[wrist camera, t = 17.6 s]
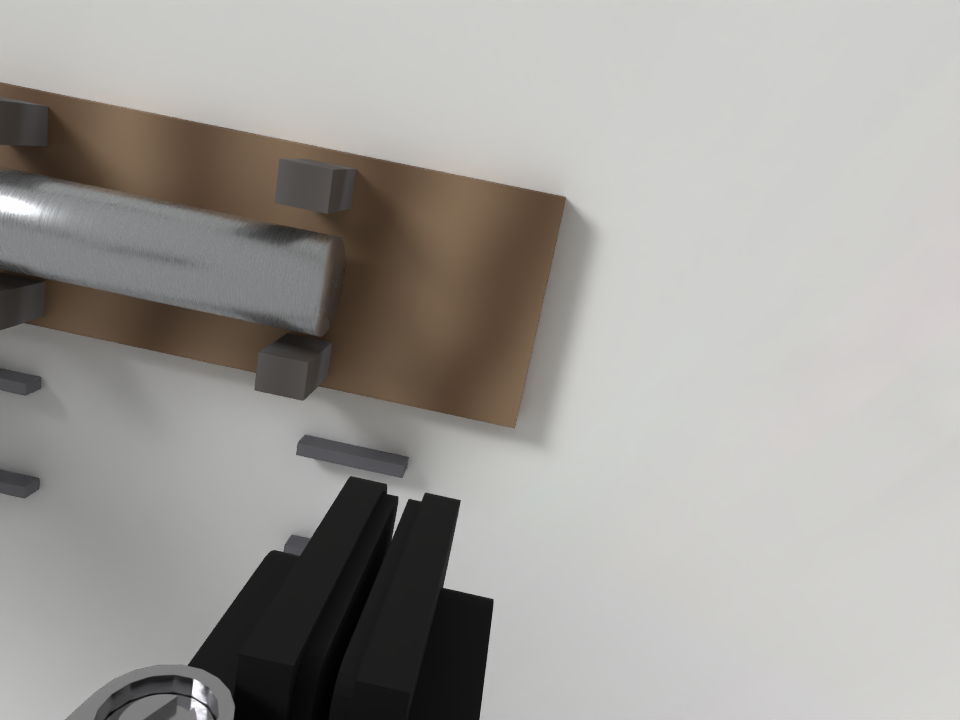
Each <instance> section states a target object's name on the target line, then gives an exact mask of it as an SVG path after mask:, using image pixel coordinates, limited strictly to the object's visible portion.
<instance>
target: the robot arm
mask: <svg viewBox="0 0 960 720" xmlns="http://www.w3.org/2000/svg"><path fill="white" fill-rule="evenodd" d="M460 501H461V500H457V499H452V498H448V497H443V496H439V495H434V494H430V493H425V494H424V497H423V499H422V502H421V501H416V500H412V499H409V500H408V502H407V505H406V507H405V509H404V512H403V514H402V517H401V519H400V522H399V524H398V526H397V529H396V531H395V534H394V536H393V539H392V535H393V529H394V523H395V518H396V512H397V506H398V496H394V495H389V494H387V484H384V483H379V482H375V481H370V480H366V479H361V478H357V477H352V476H350V478H349V479H348V480H347V482H346V484H345V485H344V487H343V488H342V490H341V491H340V493H339V495H338V496H337V498H336V499H335V501H334V503H333V504H332V506H331V507H330V509H329V511H328V512H327V514H326V515H325V517H324V519H323V520H322V522H321V523H320V525H319V526H318V528H317V530H316V531H315V533H314V534H313V536H312V538H311V539H310V541H309V542H308V544H307V546H306V547H305V549H304V550H303V552H302V554H301V555H300V556H298V555H294V554H289V553H285V552H280V551H276V550H273V551H270V552H269V553H268V555H267V556H266V557H265V558H264V559H263V561H262V562H261V564H260V565H259V566H258V568H257V569H256V571H255V572H254V573H253V575H252V576H251V578H250V579H249V580H248V582H247V583H246V585H245V586H244V587H243V589H242V590H241V592H240V593H239V594H238V596H237V597H236V599H235V600H234V601H233V603H232V604H231V606H230V607H229V608H228V610H227V611H226V613H225V614H224V615H223V617H222V618H221V620H220V621H219V622H218V624H217V625H216V627H215V628H214V629H213V631H212V632H211V634H210V635H209V636H208V638H207V639H206V641H205V642H204V643H203V645H202V646H201V648H200V649H199V650H198V652H197V653H196V655H195V656H194V657H193V659H192V660H191V662H190V663H189V664H188V666H185V665H156V666H152V667H147V668H142V669H137V670H134V671H132V672H130V673H127V674H125V675H123V676H120V677H118V678H115V679H113V680H112V681H111V682H109V683H108V684H106V685H105V686H104V687H102V688H101V689H99V690H98V691H96V692H95V693H94V694H93V695H92V696H91V697H89V698H88V699H87V700H86V701H85V702H84V703H83V704H82V705H81V706H79V707H78V708H77V709H76V710H75V711H74V712H73V713H72V714H71V715H70V716H68V717H67V718H66V719H65V720H479V718H480V710H481V702H482V694H483V685H484V677H485V669H486V661H487V653H488V645H489V636H490V628H491V620H492V612H493V602H494V601H493V599H490V598H486V597H481V596H477V595H472V594H468V593H463V592H459V591H454V590H450V589H446V588H443V585H444V580H445V575H446V570H447V566H448V561H449V556H450V551H451V546H452V541H453V536H454V532H455V527H456V522H457V517H458V512H459V507H460ZM391 540H392V541H391Z"/></svg>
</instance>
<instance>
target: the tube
mask: <svg viewBox="0 0 960 720" xmlns="http://www.w3.org/2000/svg"><path fill="white" fill-rule="evenodd" d="M0 269H3V270H8V271H13V272H17V273H22V274H27V275H31V276H36V277H41V278H46V279H50V280H55V281H60V282H64V283H69V284H74V285H79V286H83V287H88V288H93V289H97V290H102V291H107V292H112V293H116V294H121V295H126V296H131V297H135V298H140V299H145V300H149V301H154V302H159V303H164V304H168V305H173V306H178V307H182V308H187V309H192V310H197V311H201V312H206V313H211V314H215V315H220V316H225V317H230V318H234V319H239V320H244V321H248V322H253V323H258V324H263V325H267V326H272V327H277V328H281V329H286V330H291V331H296V332H300V333H305V334H310V335H315V336H319V337H321V336H323V335H324V334H325V333H326V332H327V331H328V329H329V328H330V326H331V324H332V322H333V319H334V317H335V314H336V311H337V308H338V305H339V301H340V297H341V293H342V288H343V282H344V274H345V247H344V243H343V240H342V238H341V237H338V236H334V235H329V234H324V233H319V232H314V231H309V230H305V229H300V228H295V227H290V226H285V225H280V224H276V223H271V222H266V221H261V220H256V219H251V218H247V217H242V216H237V215H232V214H227V213H222V212H218V211H213V210H208V209H203V208H198V207H193V206H189V205H184V204H179V203H174V202H169V201H164V200H159V199H155V198H150V197H145V196H140V195H135V194H130V193H126V192H121V191H116V190H111V189H106V188H101V187H97V186H92V185H87V184H82V183H77V182H72V181H68V180H63V179H58V178H53V177H48V176H43V175H39V174H34V173H29V172H24V171H19V170H14V169H10V168H5V167H0Z"/></svg>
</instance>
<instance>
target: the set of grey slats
mask: <svg viewBox="0 0 960 720" xmlns="http://www.w3.org/2000/svg"><path fill="white" fill-rule="evenodd" d="M40 382H41V377H37V376H32V375H28V374H23V373H19V372H14V371H9V370H5V369H0V390H2V391H7V392H11V393H16V394H21V395H25V396H26V395H28V394H30V393H33V392H35V391H37V390H39V389H40ZM296 455H299V456H304V457H309V458H313V459H318V460H322V461H327V462H331V463H336V464H341V465H345V466H350V467H354V468H359V469H363V470H368V471H373V472H377V473H382V474H386V475H391V476H395V477H400V478H403V475H404V473H405V471H406V469H407V463H408V458H409V457H405V456H400V455H395V454H391V453H386V452H382V451H377V450H372V449H368V448H363V447H359V446H354V445H349V444H345V443H340V442H336V441H331V440H326V439H322V438H317V437H313V436H308V435H304V436H303V438H302V439H301V440H300V441H299V442H298V445H297V452H296ZM38 489H39V478H34V477H30V476H25V475H21V474H16V473H12V472H7V471H3V470H0V493H3V494H7V495H12V496H16V497H21V498H26V497H28V496H29V495H31V494H32V493H34V492H35V491H37V490H38ZM309 541H310V539H308V538H303V537H299V536H294V535H291V537H290V538H289V540H288V541H287V543H286V544H285V546H284V552H285V553H289V554H294V555H298V556H300V555H301V554H302V552H303V550H304V549H305V547H306V546H307V544H308V542H309Z"/></svg>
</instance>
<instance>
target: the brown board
mask: <svg viewBox="0 0 960 720" xmlns="http://www.w3.org/2000/svg"><path fill="white" fill-rule="evenodd" d="M0 167H5V168H10V169H14V170H19V171H24V172H29V173H34V174H39V175H43V176H48V177H53V178H58V179H63V180H68V181H72V182H77V183H82V184H87V185H92V186H97V187H101V188H106V189H111V190H116V191H121V192H126V193H130V194H135V195H140V196H145V197H150V198H155V199H159V200H164V201H169V202H174V203H179V204H184V205H189V206H193V207H198V208H203V209H208V210H213V211H218V212H222V213H227V214H232V215H237V216H242V217H247V218H251V219H256V220H261V221H266V222H271V223H276V224H280V225H285V226H290V227H295V228H300V229H305V230H309V231H314V232H319V233H324V234H329V235H334V236H338V237H341V238H342V240H343V243H344V247H345V274H344V282H343V288H342V293H341V297H340V301H339V305H338V308H337V311H336V314H335V317H334V319H333V322H332V324H331V326H330V328H329V329H328V331H327V332H326V333H325V334H324V335H323V336H321V337H319V336H315V335H310V334H305V333H300V332H296V331H291V330H286V329H281V328H277V327H272V326H267V325H263V324H258V323H253V322H248V321H244V320H239V319H234V318H230V317H225V316H220V315H215V314H211V313H206V312H201V311H197V310H192V309H187V308H182V307H178V306H173V305H168V304H164V303H159V302H154V301H149V300H145V299H140V298H135V297H131V296H126V295H121V294H116V293H112V292H107V291H102V290H97V289H93V288H88V287H83V286H79V285H74V284H69V283H64V282H60V281H55V280H50V279H46V278H41V277H36V276H31V275H27V274H22V273H17V272H13V271H8V270H3V269H0V330H2V329H5V328H9V327H12V326H15V325H18V324H22V323H27V324H32V325H37V326H41V327H46V328H51V329H55V330H60V331H65V332H69V333H74V334H79V335H83V336H88V337H92V338H97V339H102V340H106V341H111V342H116V343H120V344H125V345H130V346H134V347H139V348H144V349H148V350H153V351H158V352H162V353H167V354H172V355H176V356H181V357H185V358H190V359H195V360H199V361H204V362H209V363H213V364H218V365H223V366H227V367H232V368H237V369H241V370H246V371H251V372H255V373H256V381H255V390H256V391H261V392H265V393H270V394H275V395H279V396H284V397H289V398H293V399H298V400H302V401H304V400H305V399H306V398H307V397H308V396H309V395H310V394H311V393H312V392H313V391H314V390H315V389H316V388H317V387H318V386H320V387H325V388H330V389H334V390H339V391H344V392H348V393H353V394H358V395H362V396H367V397H372V398H376V399H381V400H385V401H390V402H395V403H399V404H404V405H409V406H413V407H418V408H423V409H427V410H432V411H437V412H441V413H446V414H451V415H455V416H460V417H465V418H469V419H474V420H478V421H483V422H488V423H492V424H497V425H502V426H506V427H511V428H515V425H516V420H517V416H518V411H519V407H520V402H521V398H522V393H523V389H524V384H525V380H526V375H527V371H528V366H529V362H530V357H531V353H532V348H533V344H534V339H535V335H536V330H537V326H538V321H539V317H540V312H541V308H542V303H543V299H544V294H545V290H546V285H547V281H548V276H549V272H550V267H551V263H552V258H553V254H554V249H555V245H556V240H557V236H558V231H559V227H560V222H561V218H562V213H563V209H564V204H565V200H566V198H565V197H563V196H558V195H553V194H548V193H544V192H539V191H534V190H529V189H524V188H519V187H514V186H509V185H504V184H499V183H494V182H489V181H484V180H479V179H474V178H470V177H465V176H460V175H455V174H450V173H445V172H440V171H435V170H430V169H425V168H420V167H415V166H410V165H405V164H400V163H396V162H391V161H386V160H381V159H376V158H371V157H366V156H361V155H356V154H351V153H346V152H341V151H336V150H331V149H326V148H322V147H317V146H312V145H307V144H302V143H297V142H292V141H287V140H282V139H277V138H272V137H267V136H262V135H257V134H252V133H248V132H243V131H238V130H233V129H228V128H223V127H218V126H213V125H208V124H203V123H198V122H193V121H188V120H183V119H178V118H174V117H169V116H164V115H159V114H154V113H149V112H144V111H139V110H134V109H129V108H124V107H119V106H114V105H109V104H104V103H100V102H95V101H90V100H85V99H80V98H75V97H70V96H65V95H60V94H55V93H50V92H45V91H40V90H35V89H30V88H25V87H21V86H16V85H11V84H6V83H1V82H0Z"/></svg>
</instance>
